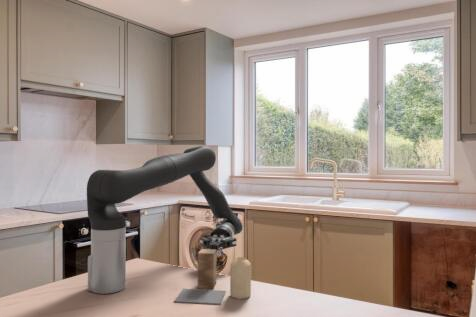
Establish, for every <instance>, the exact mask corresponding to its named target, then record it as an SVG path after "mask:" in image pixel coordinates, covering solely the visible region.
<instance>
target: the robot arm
mask: <svg viewBox="0 0 476 317" xmlns="http://www.w3.org/2000/svg"><path fill="white" fill-rule="evenodd" d="M216 159H217V156H216V153H215V151H214V150H213V149H212V148H211V147H209V146H207V145H199V146H195V147H189V148H187V149H185V150H184V151H183V153H173V154H172V153H171V154H166V155H162V156H158V157H154V158H151V159H149V160H147V161H146V162H145V163H144V164H143V165H142V166H140V167H137V168H133V169H126V170H125V169H123V170H116V169H97V170H95V171H94V172H92V173H91V174H90V176H89V178H88V179H87V183H86V203H87V205H86V206H87V217H88V219H89V223H90V255H88V257H87V291H88V292H93V293H94V294H101V295H104V294H105V295H107V294H114V293H117V292H118V293H119V292H121V291H123V290H125V289H126V281H127V280H126V276H127V275H126V273H127V269H126V265H127V264H126V261H127V259H126V258H127V257H126V255H127V254H126V252H127V251H126V248H127V247H126V244H127V243H126V237H127V236H126V230H127V228H126V217H125V216H124V215H123V214H122V213H121V212H120V211H119V210H118V208H117V207H116V204H121V203H124V202H126V201H128V200H130V199H133V198H134V197H136V196H138V195H140V194H142V193H144V192H147V191H150V190H153V189H156V188H159V187H162V186H166V185H168V184H171V183H173V182H177V181H178V180H180V179H183V178H185V177H187V176H190V178H191V180H192V181H193V182H194V184H195V185H196V187H197V188H198V190H199V191H200V192H201V193H202V196H203V197H204V199H205V201H206V203H207V204H208V206H209V209H210V211H211V213H212V215H213V217H214V218H215V219H217V220H219V219H220V220H219V221H218V222H216V224H215V228H214V229H213V230H212V231H211V233H210V235H209V236H207V237H205V236H201V237H200V238H199V244H200V246H202V247H205V249H213V250H217V251H218V250H225V249H226V250H227V249H229V248H234V247H237V244H238V243H237V238H236V237H235V235H238V234H241V232H242V231H243V223H242V221H241V220H240V218H239V217H238V215H237V214H235V213H234V211H233V210H232V208H231V207H230V206H229V202H228V200H227V198H226V197H225V195H224V193H223V192H222V191H221V190H220V188H219V187H217V185H215V184H214V183H213V182H212V181H211V180H210V179H209V178H208V177H207V176H206V174H205V173H204V171H205V172H207V171H209V170H211V169H212V168H213V167H214V165H215V163H216ZM221 219H223V220H221Z"/></svg>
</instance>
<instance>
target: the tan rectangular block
mask: <svg viewBox="0 0 476 317" xmlns="http://www.w3.org/2000/svg"><path fill="white" fill-rule="evenodd" d="M217 251H218V250H213V249H210V248H201V249H200V250H199V251H198V252H197V289H201V290H215V287H216V285H217Z"/></svg>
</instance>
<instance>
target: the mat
mask: <svg viewBox="0 0 476 317" xmlns="http://www.w3.org/2000/svg"><path fill="white" fill-rule="evenodd" d="M226 292H227V291H226V290H220V289H219V290H218V289H217V290H216V289H202V288H197V289H196V288H182V290H181V291H180V292H179V293H178V295H177V297H175V299H174V301H173V303H181V304H182V303H185V304H201V305H202V304H203V305H219V306H220V305H221V304H222V301H223V299H224V296H225V294H226Z"/></svg>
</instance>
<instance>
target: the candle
mask: <svg viewBox="0 0 476 317" xmlns="http://www.w3.org/2000/svg"><path fill="white" fill-rule="evenodd" d="M251 264H252V263H251V262H250V261H249V260H248V259H247V258H246V257H245V256H241V257H240V256H239V257H237V258H236V257H235V258H233V260H232V261H231V262H230V270H229V271H230V272H229V273H230V276H229V277H230V280H229V281H230V287H229V288H230V289H229V291H230V292H229V293H230V294H229V295H230V297H231V298H234V299H239V300H243V299H248V298H250V297H251V292H252V284H251V283H252V278H251V277H252V272H251V271H252V265H251Z"/></svg>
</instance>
